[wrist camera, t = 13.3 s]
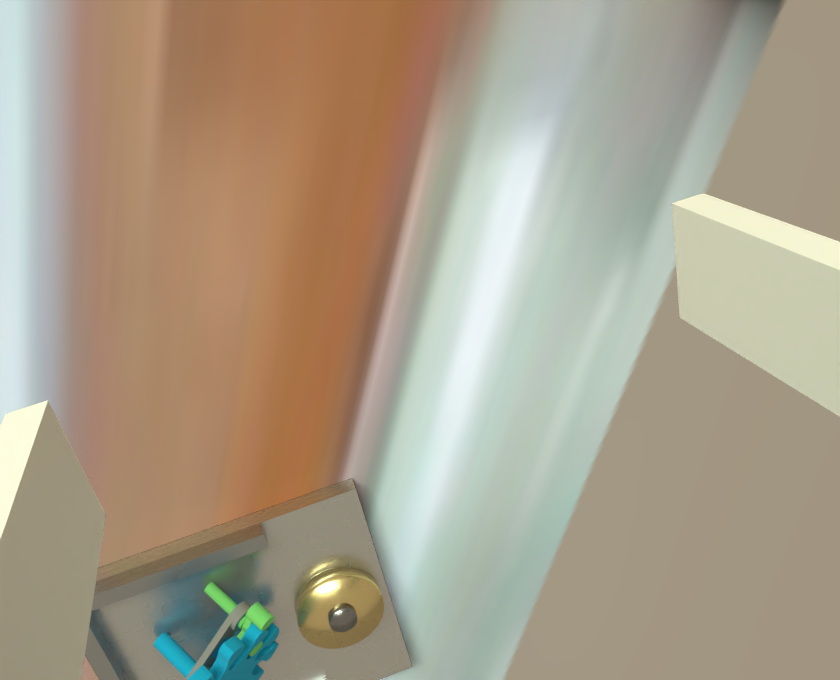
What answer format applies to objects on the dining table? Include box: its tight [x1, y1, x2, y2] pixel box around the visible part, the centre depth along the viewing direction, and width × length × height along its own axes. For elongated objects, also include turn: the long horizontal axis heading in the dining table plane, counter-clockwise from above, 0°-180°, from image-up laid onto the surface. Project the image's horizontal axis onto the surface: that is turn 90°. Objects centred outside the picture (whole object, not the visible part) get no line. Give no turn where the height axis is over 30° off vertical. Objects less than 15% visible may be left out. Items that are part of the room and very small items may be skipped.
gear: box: [153, 582, 279, 680], centre depth 46 cm, size 11×6×10 cm
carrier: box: [85, 479, 412, 680], centre depth 49 cm, size 18×16×3 cm
